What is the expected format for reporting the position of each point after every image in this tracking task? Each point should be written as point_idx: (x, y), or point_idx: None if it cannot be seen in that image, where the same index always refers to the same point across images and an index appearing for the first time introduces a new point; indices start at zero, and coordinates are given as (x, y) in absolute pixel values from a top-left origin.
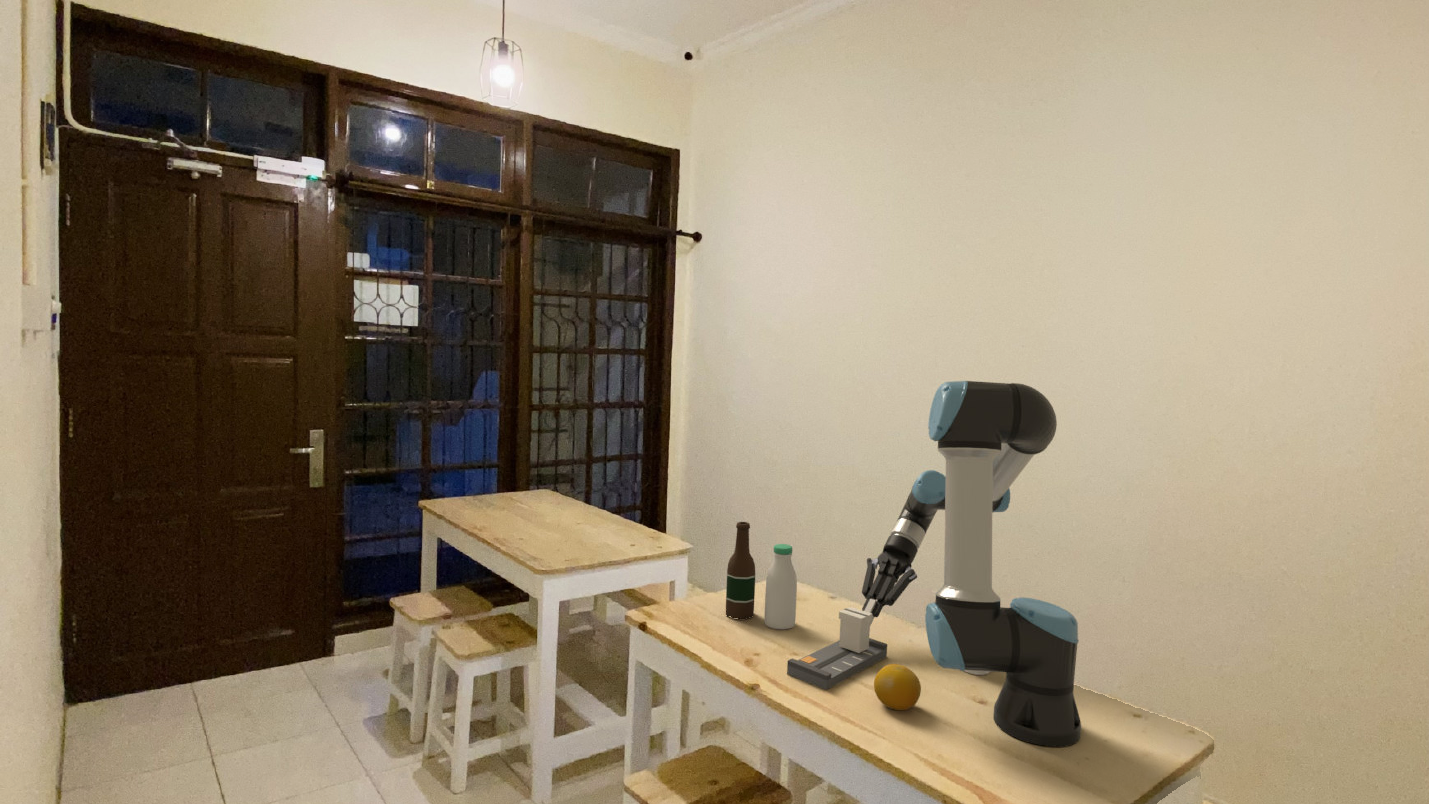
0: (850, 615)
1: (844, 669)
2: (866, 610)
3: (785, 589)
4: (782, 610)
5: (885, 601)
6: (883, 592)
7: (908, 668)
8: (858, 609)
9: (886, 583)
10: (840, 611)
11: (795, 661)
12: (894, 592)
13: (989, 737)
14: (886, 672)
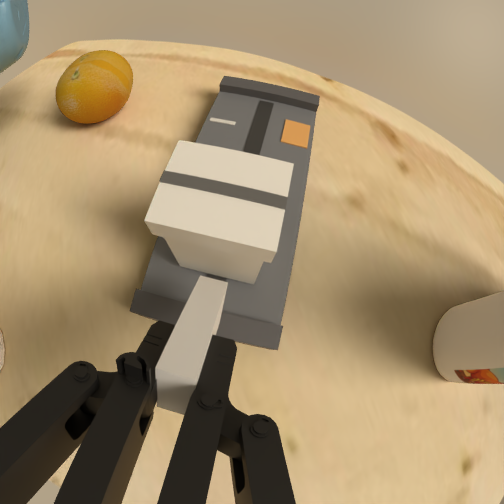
0: (233, 151)
1: (206, 128)
2: (203, 322)
3: None
4: (476, 304)
5: (100, 374)
6: (107, 417)
7: (66, 75)
8: (224, 237)
9: (88, 482)
10: (289, 168)
11: (305, 96)
12: (33, 399)
13: (9, 123)
14: (106, 50)
